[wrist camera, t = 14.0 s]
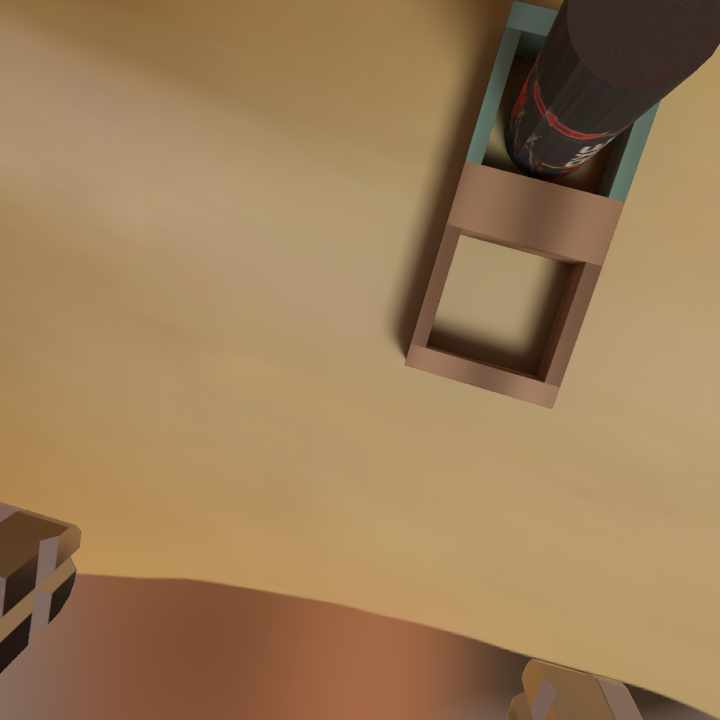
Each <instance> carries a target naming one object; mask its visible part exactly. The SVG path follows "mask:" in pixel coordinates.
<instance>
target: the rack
mask: <svg viewBox="0 0 720 720" xmlns="http://www.w3.org/2000/svg"><path fill="white" fill-rule="evenodd" d="M558 12H559V11H558V10H554V9H549V8H545V7H541V6H536V5H532V4H528V3H523V2H519V1H515V0H513V4H512V7H511V10H510V13H509V17H508V20H507V23H506V27H505V30H504V33H503V37H502V40H501V43H500V47H499V50H498V53H497V57H496V60H495V63H494V67H493V70H492V73H491V77H490V80H489V83H488V87H487V90H486V93H485V97H484V100H483V104H482V107H481V110H480V114H479V117H478V120H477V124H476V127H475V130H474V134H473V137H472V140H471V144H470V147H469V150H468V154H467V157H466V160H465V164H464V167H463V170H462V174H461V177H460V180H459V184H458V187H457V190H456V194H455V197H454V201H453V204H452V207H451V211H450V214H449V217H448V221H447V224H446V227H445V231H444V234H443V237H442V241H441V244H440V247H439V251H438V254H437V257H436V261H435V264H434V267H433V271H432V274H431V277H430V281H429V284H428V287H427V291H426V294H425V298H424V301H423V304H422V308H421V311H420V314H419V318H418V321H417V324H416V328H415V331H414V334H413V338H412V341H411V344H410V348H409V351H408V354H407V358H406V361H405V366H409V367H412V368H415V369H419V370H422V371H426V372H429V373H432V374H436V375H439V376H442V377H446V378H449V379H453V380H456V381H459V382H463V383H466V384H469V385H473V386H476V387H479V388H483V389H486V390H490V391H493V392H496V393H500V394H503V395H506V396H510V397H513V398H516V399H520V400H523V401H527V402H530V403H533V404H537V405H540V406H543V407H547V408H550V409H552V408H553V405H554V403H555V400H556V397H557V394H558V391H559V388H560V385H561V383H562V380H563V377H564V374H565V371H566V368H567V365H568V363H569V360H570V357H571V354H572V351H573V348H574V346H575V343H576V340H577V337H578V334H579V331H580V328H581V326H582V323H583V320H584V317H585V314H586V311H587V308H588V306H589V303H590V300H591V297H592V294H593V291H594V289H595V286H596V283H597V280H598V277H599V274H600V271H601V269H602V266H603V263H604V260H605V257H606V254H607V252H608V249H609V246H610V243H611V240H612V237H613V234H614V232H615V229H616V226H617V223H618V220H619V217H620V214H621V212H622V209H623V206H624V203H625V200H626V197H627V195H628V192H629V189H630V186H631V183H632V180H633V177H634V175H635V172H636V169H637V166H638V163H639V160H640V157H641V155H642V152H643V149H644V146H645V143H646V140H647V138H648V135H649V132H650V129H651V126H652V123H653V120H654V118H655V115H656V112H657V109H658V106H659V103H660V101H661V100H660V101H659V102H658V103H656V104H655V105H654V106H653V107H652V108H650V109H649V110H648V111H647V112H646V113H644V114H643V115H642V116H641V117H640V118H638V119H637V120H636V121H635V122H633V123H632V124H631V125H630V126H629V127H627V128H626V129H625V130H624V131H623V132H621V133H620V134H619V135H618V136H617V137H616V139H615V142H614V145H613V148H612V151H611V154H610V156H609V159H608V162H607V165H606V168H605V171H604V174H603V177H602V180H601V183H600V186H599V189H598V192H597V195H595V194H592V193H588V192H584V191H580V190H576V189H572V188H568V187H565V186H561V185H557V184H553V183H549V182H545V181H541V180H538V179H534V178H530V177H526V176H522V175H518V174H514V173H511V172H507V171H503V170H499V169H495V168H491V167H488V166H484V165H481V163H482V160H483V157H484V154H485V150H486V147H487V144H488V140H489V137H490V134H491V131H492V127H493V124H494V121H495V117H496V114H497V111H498V108H499V104H500V101H501V98H502V94H503V91H504V88H505V84H506V81H507V78H508V75H509V71H510V68H511V65H512V61H513V58H514V55H515V54H516V55H520V56H524V57H528V58H533V59H537V56H538V54H539V52H540V50H541V48H542V46H543V44H544V42H545V40H546V38H547V35H548V33H549V31H550V29H551V27H552V25H553V23H554V21H555V19H556V16H557V14H558ZM460 234H461V235H465V236H468V237H472V238H476V239H479V240H483V241H487V242H490V243H494V244H498V245H501V246H505V247H509V248H512V249H516V250H520V251H523V252H527V253H531V254H534V255H538V256H542V257H545V258H549V259H553V260H556V261H560V262H564V263H567V264H571V265H572V268H571V271H570V274H569V276H568V279H567V282H566V285H565V288H564V291H563V294H562V297H561V300H560V303H559V306H558V309H557V312H556V315H555V317H554V320H553V323H552V326H551V329H550V332H549V335H548V338H547V341H546V344H545V347H544V350H543V353H542V356H541V358H540V361H539V364H538V367H537V370H536V373H535V376H534V375H530V374H527V373H523V372H520V371H517V370H513V369H510V368H506V367H503V366H499V365H496V364H493V363H489V362H486V361H482V360H479V359H475V358H472V357H469V356H465V355H462V354H458V353H455V352H452V351H448V350H445V349H441V348H438V347H434V346H431V345H428V344H427V341H428V338H429V334H430V331H431V328H432V325H433V321H434V318H435V315H436V311H437V308H438V305H439V302H440V298H441V295H442V292H443V288H444V285H445V282H446V279H447V275H448V272H449V269H450V265H451V262H452V259H453V256H454V252H455V249H456V246H457V242H458V239H459V236H460Z"/></svg>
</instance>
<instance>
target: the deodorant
mask: <svg viewBox="0 0 720 720" xmlns="http://www.w3.org/2000/svg"><path fill="white" fill-rule="evenodd" d="M719 44H720V0H564V2H563V4H562V6H561V8H560V10H559V12H558V14H557V16H556V19H555V21H554V23H553V25H552V27H551V29H550V31H549V33H548V35H547V38H546V40H545V42H544V44H543V46H542V48H541V50H540V52H539V54H538V56H537V59H536V61H535V63H534V65H533V67H532V69H531V71H530V73H529V75H528V78H527V80H526V82H525V84H524V86H523V88H522V90H521V92H520V94H519V97H518V99H517V101H516V103H515V105H514V107H513V109H512V111H511V113H510V115H509V118H508V121H507V125H506V128H505V143H506V148H507V152H508V154H509V156H510V158H511V160H512V162H513V163H514V164H515V165H516V166H517V167H518V168H519V169H520V170H521V171H522V172H524V173H526V174H527V175H529V176H531V177H535V178H539V179H556V178H560V177H564V176H566V175H568V174H570V173H572V172H573V171H575V170H577V169H578V168H579V167H580V166H582V165H583V164H584V163H585V162H586V161H588V160H589V159H590V158H591V157H592V156H594V155H595V154H596V153H597V152H598V151H600V150H601V149H602V148H603V147H605V146H606V145H607V144H608V143H609V142H611V141H612V140H613V139H614V138H615V137H617V136H618V135H619V134H620V133H621V132H623V131H624V130H625V129H626V128H627V127H629V126H630V125H631V124H632V123H633V122H635V121H636V120H637V119H638V118H640V117H641V116H642V115H643V114H644V113H646V112H647V111H648V110H649V109H650V108H652V107H653V106H654V105H655V104H656V103H658V102H659V101H660V100H661V99H662V98H664V97H665V96H666V95H667V94H669V93H670V92H671V91H672V90H673V89H675V88H676V87H677V86H678V85H679V84H681V83H682V82H683V81H684V80H685V79H687V78H688V77H689V76H690V75H691V74H693V73H694V72H695V71H696V70H697V69H698V68H699V67H700V66H701V65H702V64H703V63H705V62H706V61H707V60H708V59H709V58H710V57H711V56H712V55H713V53H714V51H715V50H716V48H717V47H718V45H719Z"/></svg>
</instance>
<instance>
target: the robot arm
mask: <svg viewBox="0 0 720 720" xmlns="http://www.w3.org/2000/svg"><path fill="white" fill-rule="evenodd" d="M80 540H81V530H80V529H79V528H78V526H76V525H73V524H70V523H67V522H63V521H60V520H57V519H54V518H51V517H48V516H45V515H41V514H38V513H35V512H32V511H29V510H24V509H21V508H18V507H15V506H12V505H8V504H5V503H2V502H0V674H1V673H2V672H3V671H4V670H5V669H6V668H7V667H8V666H9V665H10V664H11V662H12V661H13V660H14V659H15V658H16V657H17V656H18V655H19V654H20V653H21V652H22V651H23V650H24V649H25V648H26V647H27V646H28V642H29V634H30V632H32V631H34V630H37V629H40V628H42V627H45V626H47V625H48V624H49V623H50V622H51V621H52V620H53V619H54V618H55V617H56V616H57V615H58V613H60V611H61V609H62V608H63V606H64V604H65V603H66V601H67V600H68V598H69V596H70V594H71V591H72V588H73V585H74V583H75V577H76V571H77V569H76V567H75V565H74V563H73V561H72V559H71V557H70V556H71V555H72V554H73V553H74V552H76V551H77V550H78V549H79V548H80ZM522 680H523V684H524V688H525V691H524V692H522V693H521V694H519V695H517V696H516V697H514V698H513V700H512V703H511V706H510V709H509V712H508V715H507V720H643V719H642V717H641V715H640V713H639V711H638V709H637V707H636V705H635V703H634V701H633V699H632V697H631V695H630V693H629V691H628V689H627V688H626V687H625V686H624V685H623V684H622V683H621V682H619V681H615V680H611V679H607V678H603V677H600V676H596V675H592V674H591V675H588V674H585V673H581V672H578V671H574V670H571V669H567V668H564V667H560V666H557V665H553V664H550V663H546V662H543V661H539V660H536V659H532V660H531V661H530V662H529V663H528V664H527V665H526V668H525V670H524V673H523V675H522Z"/></svg>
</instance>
